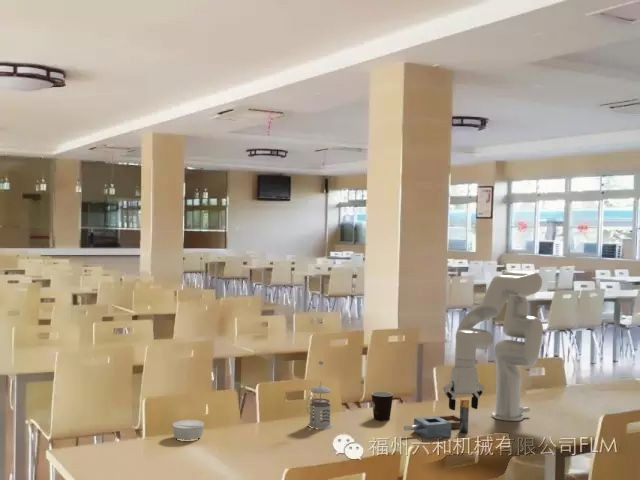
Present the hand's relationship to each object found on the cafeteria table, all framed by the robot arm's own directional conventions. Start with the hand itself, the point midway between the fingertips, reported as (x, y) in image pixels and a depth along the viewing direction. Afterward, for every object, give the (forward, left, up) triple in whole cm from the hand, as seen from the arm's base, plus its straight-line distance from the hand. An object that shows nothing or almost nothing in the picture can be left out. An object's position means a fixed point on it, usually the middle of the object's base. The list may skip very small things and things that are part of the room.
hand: (463, 408), depth 267 cm
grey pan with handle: (+16, -1, -9) cm, 18 cm away
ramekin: (+99, -22, -9) cm, 102 cm away
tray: (0, -10, -9) cm, 14 cm away
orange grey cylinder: (-1, 0, -9) cm, 9 cm away
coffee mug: (+20, -27, -9) cm, 35 cm away
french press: (+49, -23, -9) cm, 55 cm away
